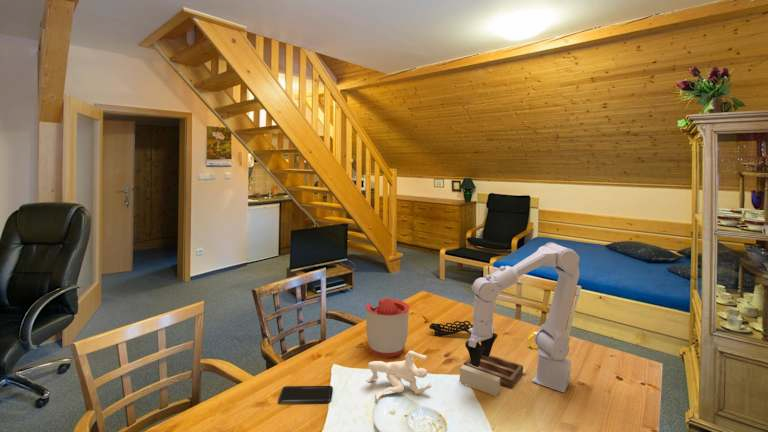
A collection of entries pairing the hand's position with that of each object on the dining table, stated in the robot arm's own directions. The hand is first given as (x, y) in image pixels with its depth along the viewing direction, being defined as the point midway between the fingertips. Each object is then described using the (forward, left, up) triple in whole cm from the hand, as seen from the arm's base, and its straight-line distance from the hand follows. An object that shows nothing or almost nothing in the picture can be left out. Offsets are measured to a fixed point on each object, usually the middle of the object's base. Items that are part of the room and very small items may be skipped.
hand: (480, 360), depth 120 cm
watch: (-6, -38, -9) cm, 39 cm away
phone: (+38, +36, -9) cm, 53 cm away
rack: (0, -11, -9) cm, 14 cm away
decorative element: (+22, -29, -9) cm, 37 cm away
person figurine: (+19, +16, -9) cm, 27 cm away
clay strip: (0, 0, -9) cm, 9 cm away
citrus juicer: (+37, -1, -9) cm, 38 cm away
